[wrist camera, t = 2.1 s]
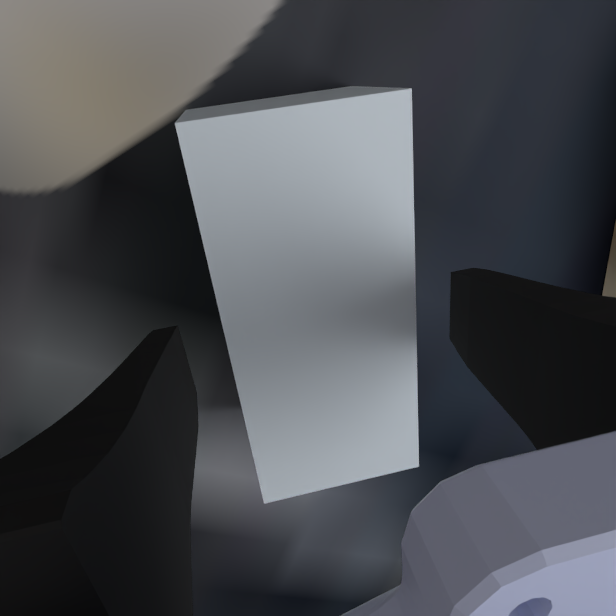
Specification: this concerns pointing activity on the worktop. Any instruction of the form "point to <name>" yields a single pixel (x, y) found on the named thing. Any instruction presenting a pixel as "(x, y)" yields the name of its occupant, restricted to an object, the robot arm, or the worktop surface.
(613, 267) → the cradle jig
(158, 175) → the worktop surface
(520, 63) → the worktop surface
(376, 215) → the block
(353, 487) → the worktop surface
